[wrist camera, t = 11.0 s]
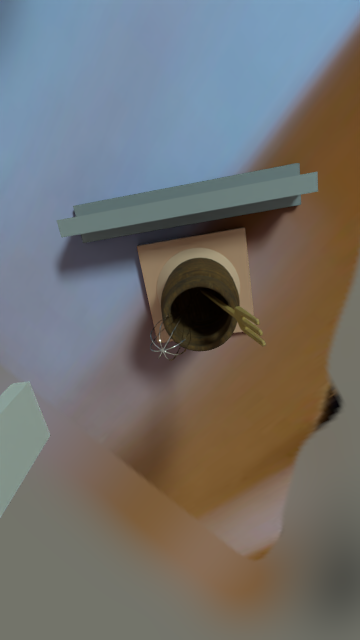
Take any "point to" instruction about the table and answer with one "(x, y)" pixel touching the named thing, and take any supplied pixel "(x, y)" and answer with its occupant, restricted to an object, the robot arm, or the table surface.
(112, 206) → the low wall
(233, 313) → the utensil holder
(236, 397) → the table surface
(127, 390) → the table surface
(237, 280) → the coaster
